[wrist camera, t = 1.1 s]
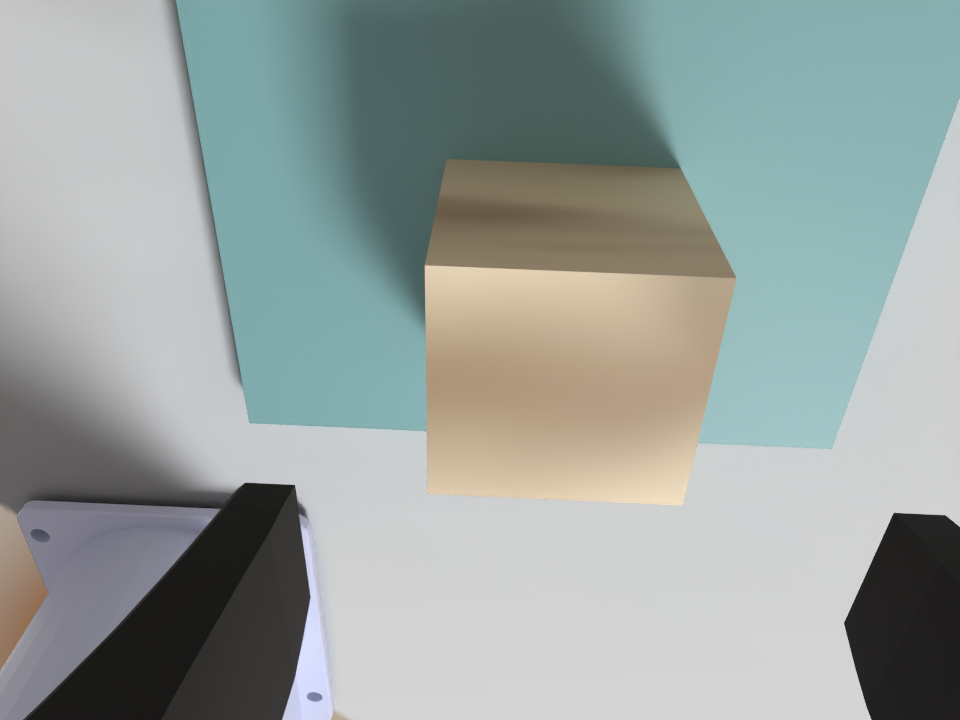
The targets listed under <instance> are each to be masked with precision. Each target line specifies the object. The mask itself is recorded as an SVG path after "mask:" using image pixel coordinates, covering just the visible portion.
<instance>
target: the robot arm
mask: <svg viewBox="0 0 960 720" xmlns="http://www.w3.org/2000/svg"><path fill="white" fill-rule="evenodd" d="M17 519H18V522H19V524H20V527H21V529H22V532H23V534H24V537H25V539H26V541H27V543H28V546H29V548H30V551H31V553H32V555H33V558H34V560H35V563H36V565H37V567H38V570H39V572H40V574H41V577H42V579H43V581H44V584H45V586H46V589H47V591H48V595H47V596H46V598H45V599H44V601H43V603H42V604H41V606H40V608H39V609H38V611H37V612H36V614H35V616H34V617H33V619H32V620H31V622H30V624H29V625H28V627H27V629H26V630H25V632H24V633H23V635H22V637H21V639H20V640H19V642H18V643H17V645H16V647H15V648H14V650H13V651H12V653H11V655H10V656H9V658H8V659H7V661H6V663H5V664H4V666H3V668H2V669H1V671H0V720H329V719H330V718H332V714H333V709H334V701H333V693H332V685H331V678H330V670H329V662H328V654H327V647H326V639H325V631H324V624H323V616H322V608H321V601H320V593H319V585H318V578H317V570H316V562H315V555H314V547H313V539H312V532H311V525H310V523H309V521H308V520H307V519H306V518H305V517H304V516H302V515H300V514H299V511H298V504H297V497H296V490H295V485H280V484H259V483H244V484H243V485H242V486H241V487H240V488H238V489H237V490H236V491H235V493H234V494H233V495H232V496H231V497H230V499H229V500H228V501H227V502H226V503H225V505H224V506H223V507H222V508H221V509H211V508H190V507H168V506H146V505H124V504H103V503H81V502H59V501H37V500H36V501H29V502H27V503H25V504H24V506H23V507H22V508H21V510H20V511H19V513H18V515H17ZM844 625H845V628H846V632H847V636H848V640H849V644H850V648H851V652H852V656H853V660H854V664H855V668H856V672H857V675H858V679H859V682H860V685H861V689H862V692H863V696H864V699H865V703H866V706H867V709H868V711H869V714H870V717H871V719H872V720H960V527H959V526H958V525H957V524H955V523H954V522H953V521H952V520H950V519H949V518H948V517H947V516H945V515H924V514H902V513H894V514H893V516H892V518H891V521H890V523H889V525H888V527H887V529H886V532H885V534H884V536H883V538H882V540H881V543H880V545H879V547H878V549H877V552H876V554H875V556H874V558H873V560H872V563H871V565H870V567H869V569H868V572H867V574H866V576H865V578H864V580H863V583H862V585H861V587H860V589H859V591H858V594H857V596H856V598H855V600H854V603H853V605H852V607H851V609H850V611H849V614H848V616H847V618H846V620H845V622H844Z"/></svg>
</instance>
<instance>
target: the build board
mask: <svg viewBox="0 0 960 720" xmlns="http://www.w3.org/2000/svg"><path fill="white" fill-rule="evenodd" d="M176 5H177V10H178V16H179V22H180V27H181V33H182V39H183V45H184V50H185V56H186V62H187V68H188V73H189V79H190V85H191V91H192V96H193V102H194V108H195V114H196V119H197V125H198V131H199V137H200V142H201V148H202V154H203V160H204V165H205V171H206V177H207V183H208V188H209V194H210V200H211V206H212V211H213V217H214V223H215V229H216V234H217V240H218V246H219V252H220V257H221V263H222V269H223V275H224V280H225V286H226V292H227V298H228V303H229V309H230V315H231V321H232V326H233V332H234V338H235V344H236V349H237V355H238V361H239V367H240V372H241V378H242V384H243V390H244V395H245V401H246V407H247V413H248V418H249V423H258V424H280V425H303V426H325V427H348V428H370V429H393V430H415V431H427V404H426V324H425V262H426V257H427V252H428V247H429V242H430V238H431V233H432V228H433V223H434V218H435V213H436V209H437V204H438V199H439V194H440V189H441V184H442V180H443V175H444V170H445V165H446V160H447V159H459V160H484V161H509V162H534V163H560V164H585V165H610V166H635V167H660V168H681V169H682V171H683V173H684V175H685V177H686V179H687V181H688V183H689V185H690V187H691V189H692V191H693V193H694V195H695V197H696V199H697V201H698V203H699V205H700V207H701V209H702V211H703V213H704V215H705V217H706V219H707V221H708V223H709V225H710V227H711V229H712V231H713V233H714V235H715V237H716V239H717V240H718V242H719V244H720V246H721V248H722V250H723V252H724V254H725V256H726V258H727V260H728V262H729V264H730V266H731V268H732V270H733V272H734V274H735V276H736V278H737V279H736V283H735V288H734V292H733V296H732V300H731V304H730V309H729V313H728V317H727V321H726V325H725V330H724V334H723V338H722V342H721V346H720V351H719V355H718V359H717V363H716V367H715V372H714V376H713V380H712V384H711V388H710V393H709V397H708V401H707V405H706V409H705V414H704V418H703V422H702V426H701V430H700V435H699V439H698V443H708V444H730V445H753V446H775V447H798V448H820V449H832V446H833V444H834V441H835V438H836V435H837V433H838V430H839V427H840V424H841V422H842V419H843V416H844V413H845V411H846V408H847V405H848V402H849V400H850V397H851V394H852V391H853V389H854V386H855V383H856V380H857V378H858V375H859V372H860V369H861V367H862V364H863V361H864V358H865V356H866V353H867V350H868V348H869V345H870V342H871V339H872V337H873V334H874V331H875V328H876V326H877V323H878V320H879V317H880V315H881V312H882V309H883V306H884V304H885V301H886V298H887V295H888V293H889V290H890V287H891V284H892V282H893V279H894V276H895V273H896V271H897V268H898V265H899V262H900V260H901V257H902V254H903V251H904V249H905V246H906V243H907V240H908V238H909V235H910V232H911V229H912V227H913V224H914V221H915V218H916V216H917V213H918V210H919V208H920V205H921V202H922V199H923V197H924V194H925V191H926V188H927V186H928V183H929V180H930V177H931V175H932V172H933V169H934V166H935V164H936V161H937V158H938V155H939V153H940V150H941V147H942V144H943V142H944V139H945V136H946V133H947V131H948V128H949V125H950V122H951V120H952V117H953V114H954V111H955V109H956V106H957V103H958V100H959V98H960V0H176Z"/></svg>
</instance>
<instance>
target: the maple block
mask: <svg viewBox="0 0 960 720" xmlns="http://www.w3.org/2000/svg"><path fill="white" fill-rule="evenodd" d="M736 279H737V278H736V276H735V274H734V272H733V270H732V268H731V266H730V264H729V262H728V260H727V258H726V256H725V254H724V252H723V250H722V248H721V246H720V244H719V242H718V240H717V239H716V237H715V235H714V233H713V231H712V229H711V227H710V225H709V223H708V221H707V219H706V217H705V215H704V213H703V211H702V209H701V207H700V205H699V203H698V201H697V199H696V197H695V195H694V193H693V191H692V189H691V187H690V185H689V183H688V181H687V179H686V177H685V175H684V173H683V171H682V169H681V168H660V167H635V166H610V165H585V164H560V163H534V162H509V161H484V160H459V159H447V160H446V165H445V170H444V175H443V180H442V184H441V189H440V194H439V199H438V204H437V209H436V213H435V218H434V223H433V228H432V233H431V238H430V242H429V247H428V252H427V257H426V262H425V324H426V404H427V483H428V494H445V495H467V496H489V497H511V498H533V499H555V500H577V501H599V502H621V503H643V504H665V505H683V502H684V498H685V493H686V489H687V485H688V481H689V477H690V472H691V468H692V464H693V460H694V456H695V451H696V447H697V443H698V439H699V435H700V430H701V426H702V422H703V418H704V414H705V409H706V405H707V401H708V397H709V393H710V388H711V384H712V380H713V376H714V372H715V367H716V363H717V359H718V355H719V351H720V346H721V342H722V338H723V334H724V330H725V325H726V321H727V317H728V313H729V309H730V304H731V300H732V296H733V292H734V288H735V283H736Z"/></svg>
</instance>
